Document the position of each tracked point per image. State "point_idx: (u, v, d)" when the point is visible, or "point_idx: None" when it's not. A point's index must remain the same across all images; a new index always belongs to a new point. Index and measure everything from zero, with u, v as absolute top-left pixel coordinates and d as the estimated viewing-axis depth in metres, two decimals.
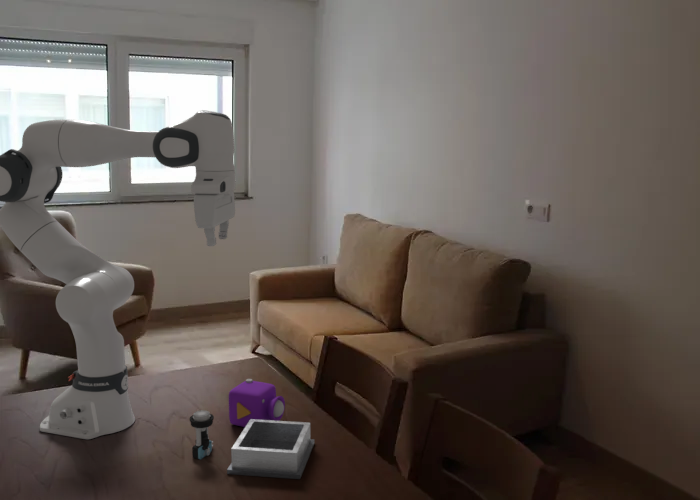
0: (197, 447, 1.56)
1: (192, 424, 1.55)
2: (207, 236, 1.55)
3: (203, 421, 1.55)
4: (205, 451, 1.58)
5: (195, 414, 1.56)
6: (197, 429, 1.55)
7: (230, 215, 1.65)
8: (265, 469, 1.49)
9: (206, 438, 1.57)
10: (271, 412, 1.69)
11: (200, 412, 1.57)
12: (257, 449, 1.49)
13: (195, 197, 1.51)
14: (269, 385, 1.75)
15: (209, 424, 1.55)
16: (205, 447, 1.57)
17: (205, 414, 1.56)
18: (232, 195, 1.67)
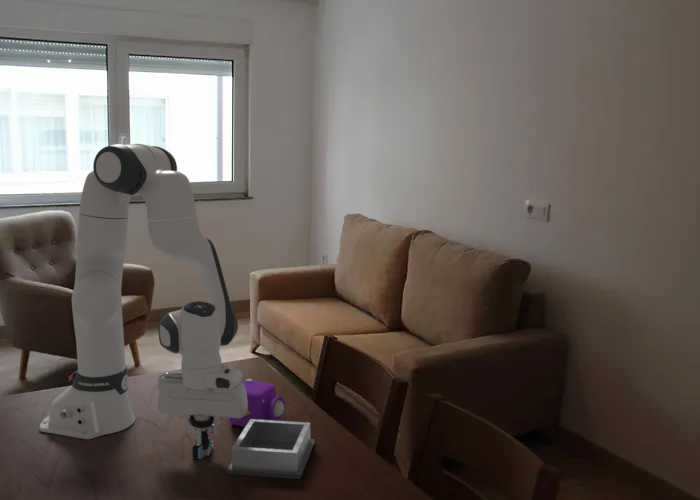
0: (197, 447, 1.56)
1: (193, 424, 1.55)
2: (217, 425, 1.56)
3: (204, 421, 1.55)
4: (205, 451, 1.57)
5: None
6: (198, 429, 1.55)
7: None
8: (265, 469, 1.49)
9: (206, 438, 1.57)
10: (271, 412, 1.69)
11: None
12: (257, 449, 1.49)
13: (237, 390, 1.53)
14: (269, 385, 1.75)
15: (210, 424, 1.55)
16: (205, 447, 1.57)
17: None
18: None
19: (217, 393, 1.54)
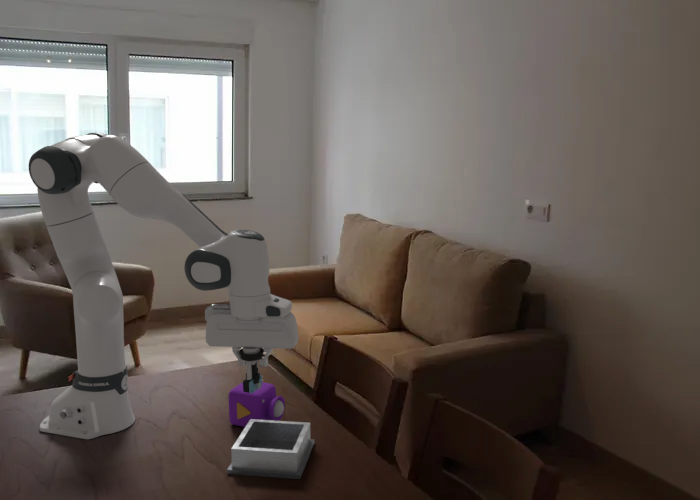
0: (248, 381, 1.51)
1: (242, 357, 1.50)
2: (267, 357, 1.51)
3: (254, 354, 1.49)
4: (256, 385, 1.53)
5: (245, 347, 1.51)
6: (247, 362, 1.50)
7: None
8: (265, 469, 1.49)
9: (257, 372, 1.52)
10: (271, 412, 1.69)
11: None
12: (257, 449, 1.49)
13: (288, 319, 1.47)
14: (269, 385, 1.75)
15: (260, 357, 1.50)
16: (256, 381, 1.52)
17: None
18: None
19: (267, 323, 1.48)
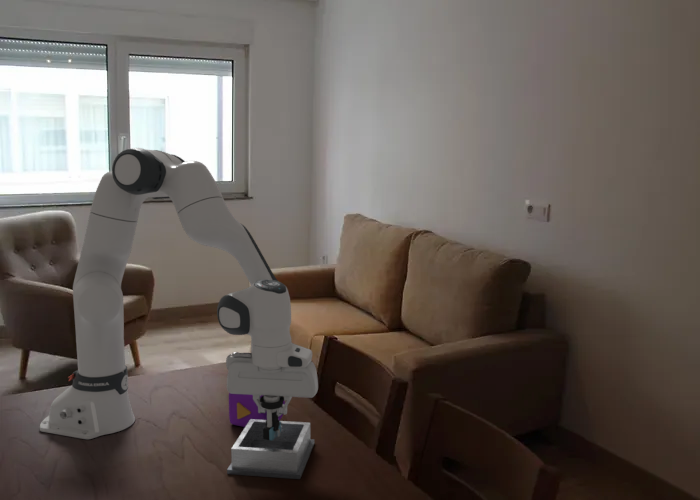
0: (268, 428, 1.53)
1: (263, 405, 1.52)
2: None
3: (274, 402, 1.52)
4: (275, 432, 1.55)
5: (266, 395, 1.53)
6: (268, 410, 1.53)
7: None
8: (265, 469, 1.49)
9: (276, 419, 1.55)
10: None
11: None
12: (257, 449, 1.49)
13: (309, 369, 1.50)
14: None
15: (280, 405, 1.53)
16: (276, 428, 1.54)
17: None
18: None
19: (288, 372, 1.51)
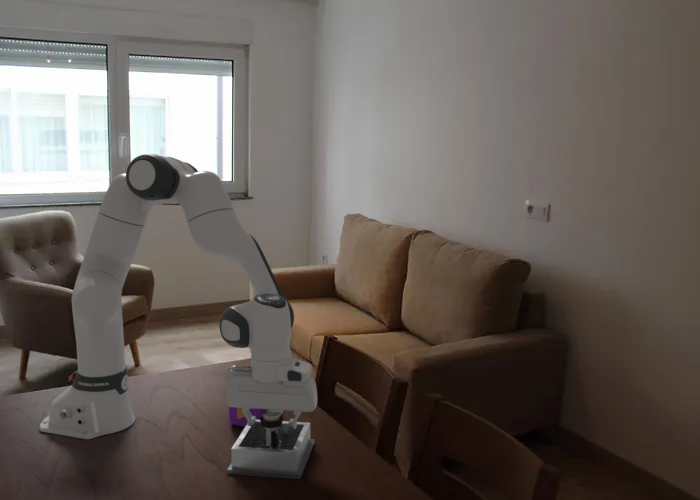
0: (267, 447, 1.54)
1: (262, 424, 1.53)
2: None
3: (274, 421, 1.52)
4: None
5: (265, 414, 1.54)
6: (267, 429, 1.53)
7: None
8: (265, 469, 1.49)
9: (276, 438, 1.55)
10: None
11: (270, 412, 1.55)
12: (257, 449, 1.49)
13: (309, 383, 1.50)
14: None
15: (279, 424, 1.53)
16: (275, 447, 1.55)
17: (275, 414, 1.54)
18: None
19: (288, 386, 1.51)
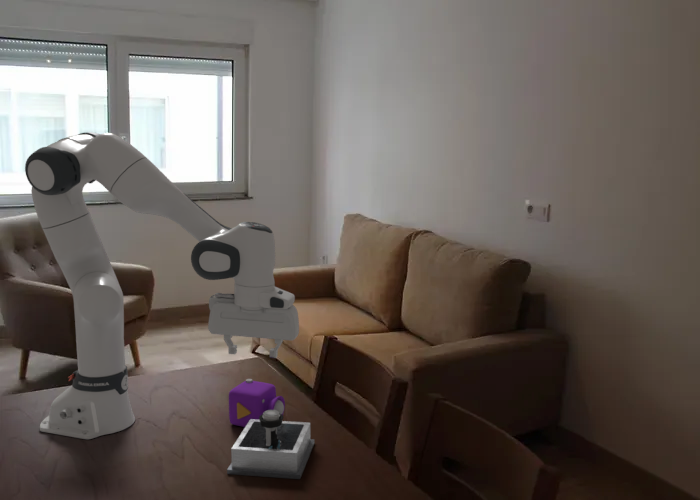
0: (267, 447, 1.54)
1: (262, 424, 1.53)
2: (277, 348, 1.54)
3: (274, 421, 1.52)
4: None
5: (265, 414, 1.54)
6: (267, 429, 1.53)
7: None
8: (265, 469, 1.49)
9: (275, 438, 1.55)
10: None
11: (269, 412, 1.55)
12: (257, 449, 1.49)
13: (291, 311, 1.51)
14: (269, 385, 1.75)
15: (279, 424, 1.53)
16: (275, 447, 1.55)
17: (275, 414, 1.54)
18: None
19: (270, 314, 1.52)
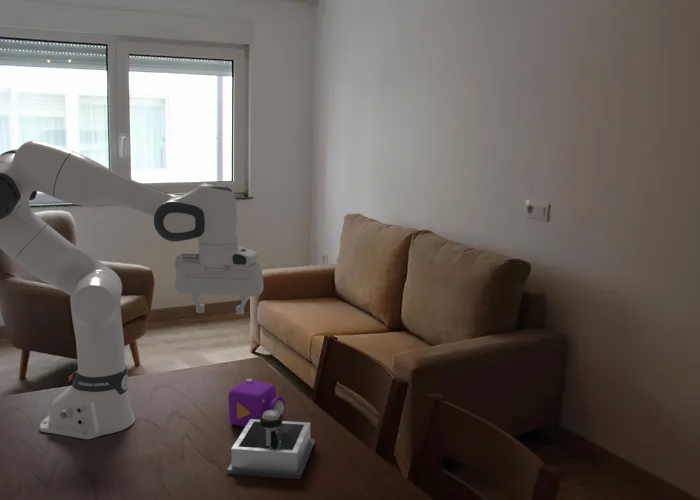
0: (267, 447, 1.54)
1: (262, 424, 1.53)
2: (243, 305, 1.59)
3: (274, 421, 1.52)
4: None
5: (265, 414, 1.54)
6: (267, 429, 1.53)
7: None
8: (265, 469, 1.49)
9: (275, 438, 1.55)
10: None
11: (269, 412, 1.55)
12: (257, 449, 1.49)
13: (254, 268, 1.56)
14: (269, 385, 1.75)
15: (279, 424, 1.53)
16: (275, 447, 1.55)
17: (275, 414, 1.54)
18: None
19: (234, 271, 1.56)
